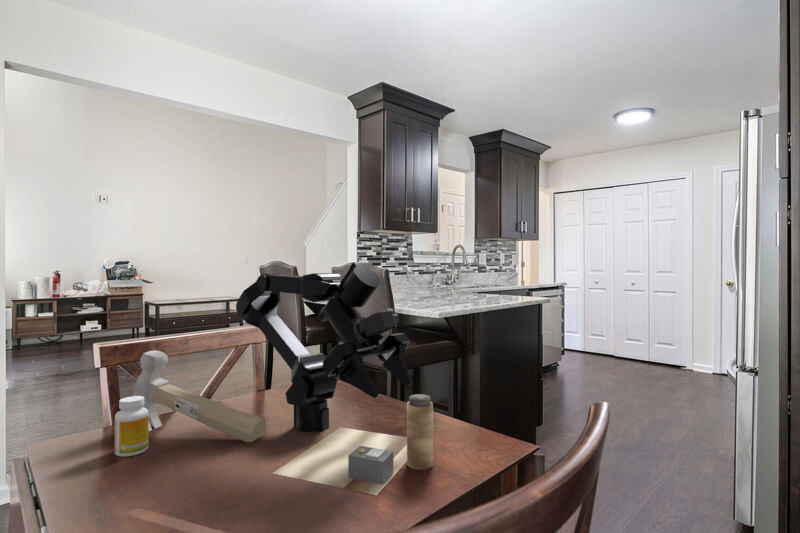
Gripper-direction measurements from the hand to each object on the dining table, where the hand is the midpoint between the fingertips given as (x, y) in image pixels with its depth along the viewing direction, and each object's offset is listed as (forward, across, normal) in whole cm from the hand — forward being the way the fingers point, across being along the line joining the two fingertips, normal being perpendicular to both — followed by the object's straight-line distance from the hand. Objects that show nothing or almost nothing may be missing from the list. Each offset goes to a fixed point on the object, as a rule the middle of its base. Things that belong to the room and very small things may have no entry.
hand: (394, 390), depth 77 cm
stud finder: (+9, -8, +7) cm, 14 cm away
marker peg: (+13, 0, +5) cm, 13 cm away
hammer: (-19, -15, +36) cm, 44 cm away
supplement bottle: (-20, -27, +38) cm, 50 cm away
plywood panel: (+5, -4, +13) cm, 14 cm away
